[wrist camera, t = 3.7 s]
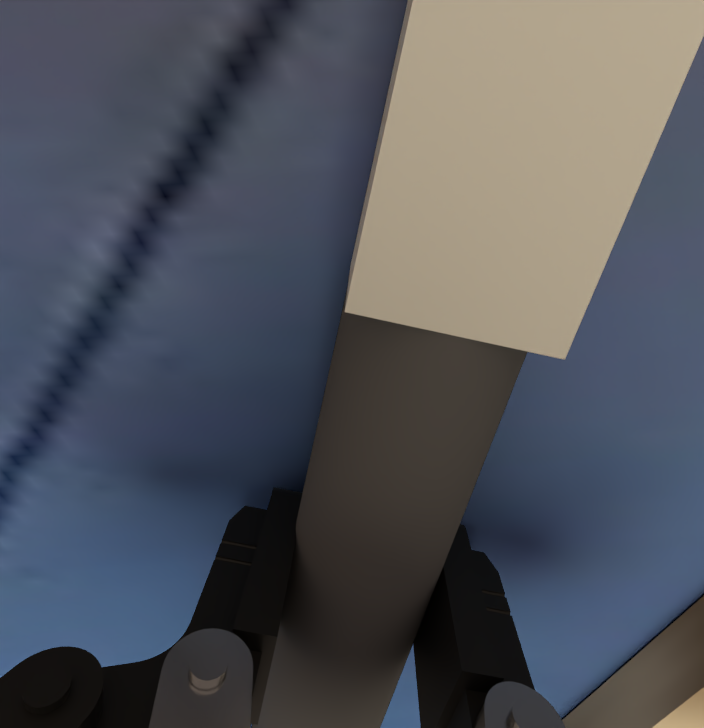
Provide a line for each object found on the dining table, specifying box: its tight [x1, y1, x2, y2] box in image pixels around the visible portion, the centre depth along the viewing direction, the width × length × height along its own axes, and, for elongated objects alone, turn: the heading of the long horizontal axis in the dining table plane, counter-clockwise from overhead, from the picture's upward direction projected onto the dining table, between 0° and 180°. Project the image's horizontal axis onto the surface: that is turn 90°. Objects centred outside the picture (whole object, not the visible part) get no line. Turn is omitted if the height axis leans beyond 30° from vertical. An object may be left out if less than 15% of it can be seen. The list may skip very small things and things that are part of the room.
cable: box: [252, 0, 704, 728], centre depth 10 cm, size 22×3×3 cm, turn 168°
